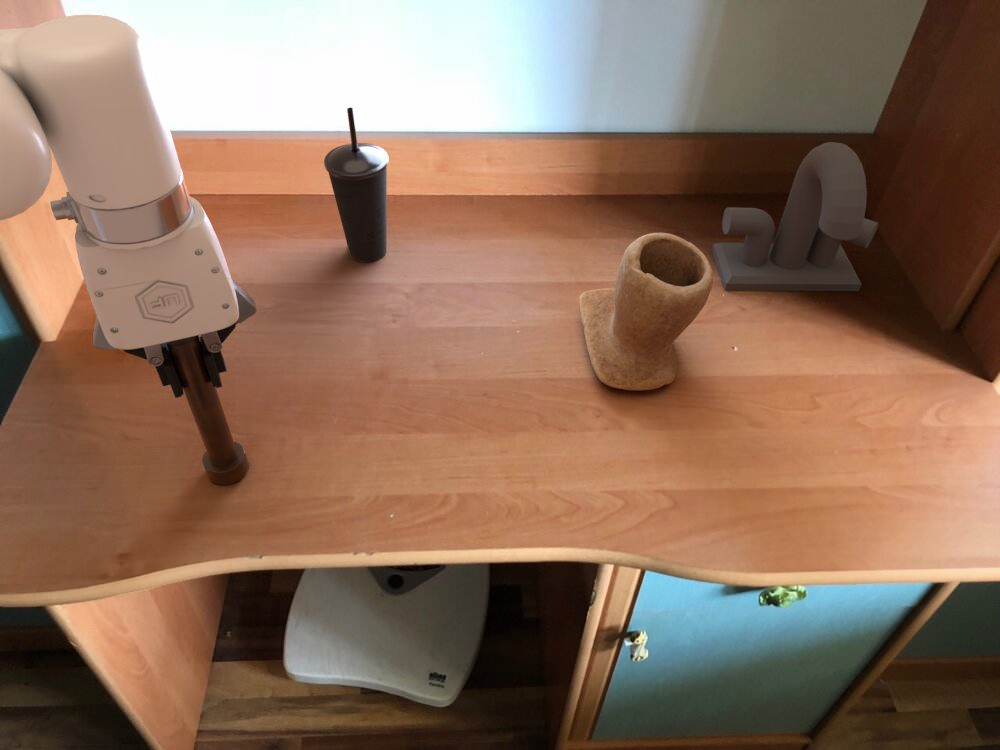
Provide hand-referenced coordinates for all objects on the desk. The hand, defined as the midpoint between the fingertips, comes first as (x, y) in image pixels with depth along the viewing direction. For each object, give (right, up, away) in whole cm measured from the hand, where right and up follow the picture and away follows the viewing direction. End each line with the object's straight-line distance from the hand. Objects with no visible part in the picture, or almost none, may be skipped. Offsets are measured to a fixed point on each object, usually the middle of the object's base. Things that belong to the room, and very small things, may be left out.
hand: (196, 380), depth 70 cm
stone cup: (+42, +3, +22) cm, 48 cm away
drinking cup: (+9, +17, +35) cm, 40 cm away
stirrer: (0, -9, +9) cm, 13 cm away
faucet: (+64, +11, +31) cm, 71 cm away
